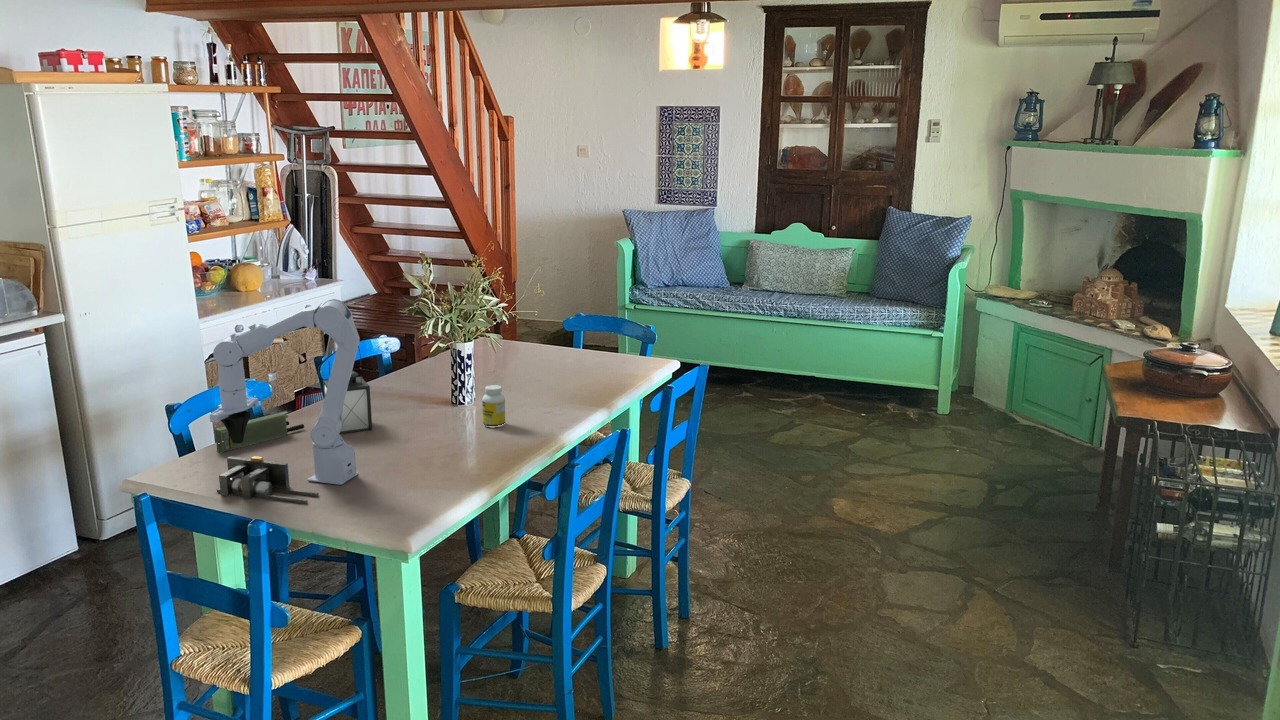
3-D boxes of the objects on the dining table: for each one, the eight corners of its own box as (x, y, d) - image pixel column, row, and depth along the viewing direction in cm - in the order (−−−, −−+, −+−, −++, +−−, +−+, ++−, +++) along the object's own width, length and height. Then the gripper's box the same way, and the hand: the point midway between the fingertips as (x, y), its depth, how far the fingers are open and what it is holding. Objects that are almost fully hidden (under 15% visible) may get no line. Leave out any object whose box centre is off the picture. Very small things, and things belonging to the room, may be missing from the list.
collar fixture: (326, 491, 224) (324, 464, 223) (303, 506, 216) (300, 478, 214) (232, 479, 231) (230, 453, 229) (206, 493, 222) (203, 466, 220)
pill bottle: (480, 423, 276) (478, 385, 273) (501, 420, 279) (500, 383, 276) (487, 430, 270) (486, 391, 267) (508, 427, 273) (507, 388, 270)
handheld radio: (215, 451, 251) (300, 428, 270) (221, 454, 249) (306, 431, 268) (213, 427, 249) (299, 406, 268) (219, 430, 247) (305, 409, 266)
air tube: (274, 486, 223) (268, 479, 221) (268, 498, 221) (261, 491, 219) (230, 481, 226) (224, 474, 224) (224, 492, 224) (217, 485, 222)
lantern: (372, 430, 269) (367, 334, 262) (332, 436, 264) (325, 338, 257) (364, 420, 278) (359, 327, 271) (325, 424, 273) (319, 330, 267)
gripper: (239, 379, 232) (244, 431, 235) (196, 394, 218) (202, 450, 222) (263, 381, 230) (268, 434, 233) (222, 397, 216) (227, 453, 220)
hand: (237, 442), depth 227 cm, fingers closed
